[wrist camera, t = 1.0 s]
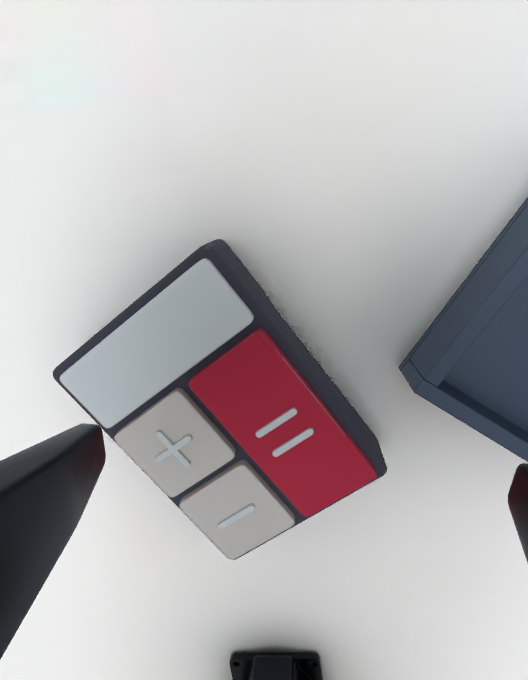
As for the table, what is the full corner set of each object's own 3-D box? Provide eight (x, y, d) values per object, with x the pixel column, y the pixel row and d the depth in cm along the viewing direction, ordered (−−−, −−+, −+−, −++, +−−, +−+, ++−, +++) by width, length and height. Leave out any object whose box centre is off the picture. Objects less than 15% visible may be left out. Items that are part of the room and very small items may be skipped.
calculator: (229, 574, 24) (38, 380, 21) (238, 520, 28) (81, 351, 25) (394, 481, 21) (203, 241, 18) (378, 436, 25) (220, 235, 22)
